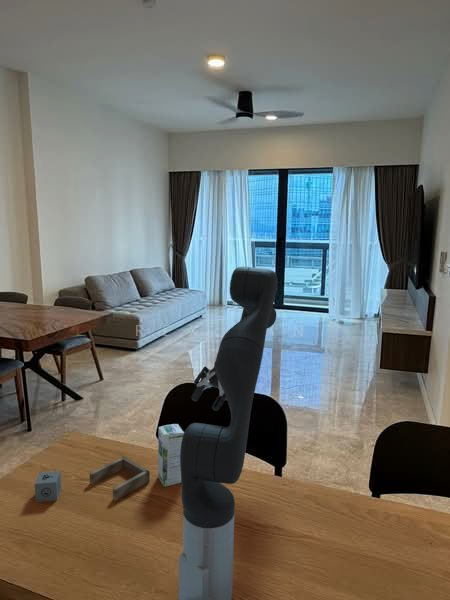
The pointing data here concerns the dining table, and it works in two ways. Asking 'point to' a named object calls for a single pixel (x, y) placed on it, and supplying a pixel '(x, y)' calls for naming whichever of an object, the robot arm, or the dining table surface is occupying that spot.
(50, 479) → the dice cube
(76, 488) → the dining table surface
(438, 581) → the dining table surface
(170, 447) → the syrup box
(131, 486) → the frame
